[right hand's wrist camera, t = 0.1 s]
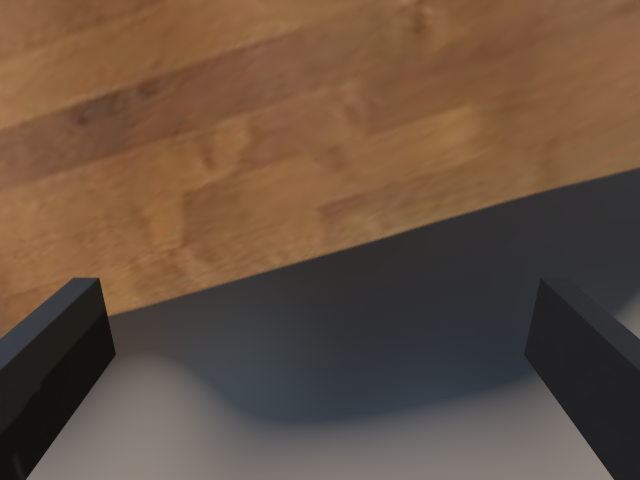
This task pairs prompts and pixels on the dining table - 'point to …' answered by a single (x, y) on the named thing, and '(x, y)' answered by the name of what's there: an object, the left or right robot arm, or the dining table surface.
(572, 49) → the dining table surface
